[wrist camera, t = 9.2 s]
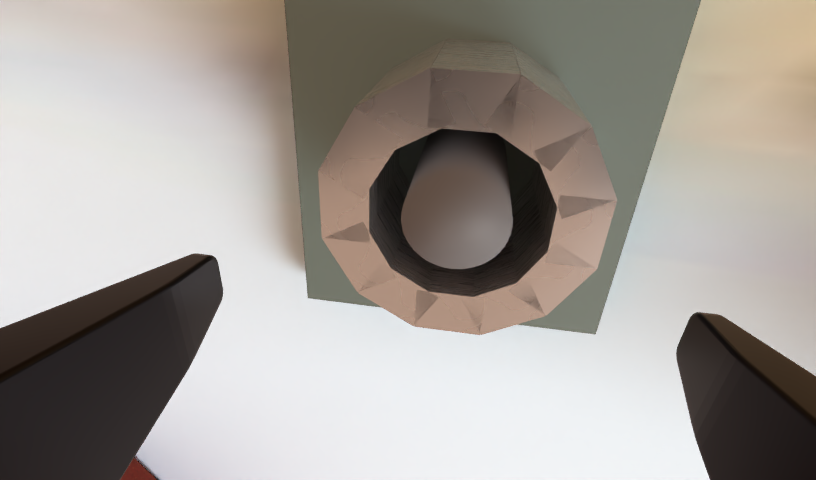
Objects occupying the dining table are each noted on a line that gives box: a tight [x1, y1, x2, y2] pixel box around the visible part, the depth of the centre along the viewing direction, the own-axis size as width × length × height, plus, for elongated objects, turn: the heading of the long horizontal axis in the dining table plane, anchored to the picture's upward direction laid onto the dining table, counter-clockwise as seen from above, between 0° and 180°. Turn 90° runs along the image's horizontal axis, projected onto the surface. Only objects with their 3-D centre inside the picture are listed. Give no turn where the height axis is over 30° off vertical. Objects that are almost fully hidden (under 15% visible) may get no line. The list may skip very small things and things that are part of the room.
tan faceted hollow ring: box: [318, 38, 617, 335], centre depth 14 cm, size 7×7×5 cm
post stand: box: [284, 0, 701, 334], centre depth 15 cm, size 14×12×6 cm
